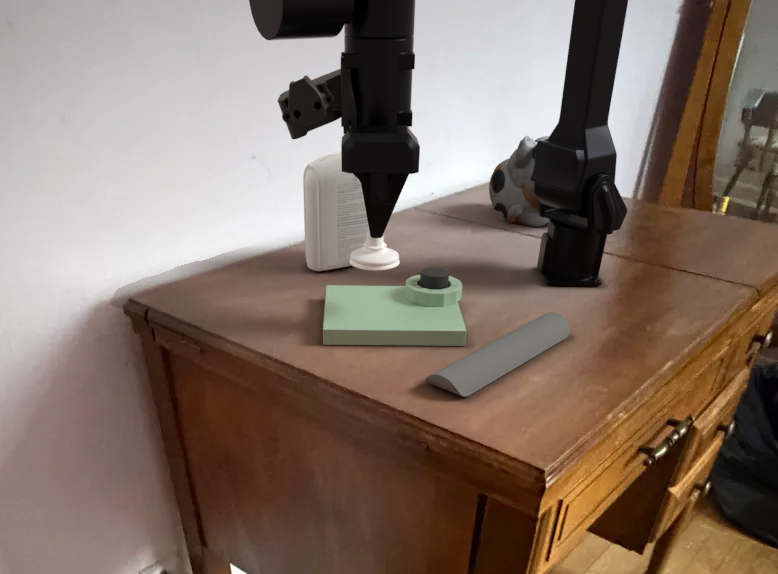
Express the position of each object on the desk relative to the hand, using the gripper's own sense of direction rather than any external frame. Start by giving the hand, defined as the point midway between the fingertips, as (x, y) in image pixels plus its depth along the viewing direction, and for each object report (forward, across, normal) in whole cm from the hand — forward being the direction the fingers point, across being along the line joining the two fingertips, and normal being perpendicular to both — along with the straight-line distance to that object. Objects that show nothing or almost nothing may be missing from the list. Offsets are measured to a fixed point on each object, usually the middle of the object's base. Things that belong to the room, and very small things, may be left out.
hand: (375, 234), depth 69 cm
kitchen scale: (+9, -1, +2) cm, 9 cm away
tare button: (+6, -4, +6) cm, 10 cm away
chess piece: (+3, 0, 0) cm, 3 cm away
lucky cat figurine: (+10, -40, +26) cm, 48 cm away
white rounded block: (+9, -19, -3) cm, 21 cm away
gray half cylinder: (+9, +8, +12) cm, 17 cm away
